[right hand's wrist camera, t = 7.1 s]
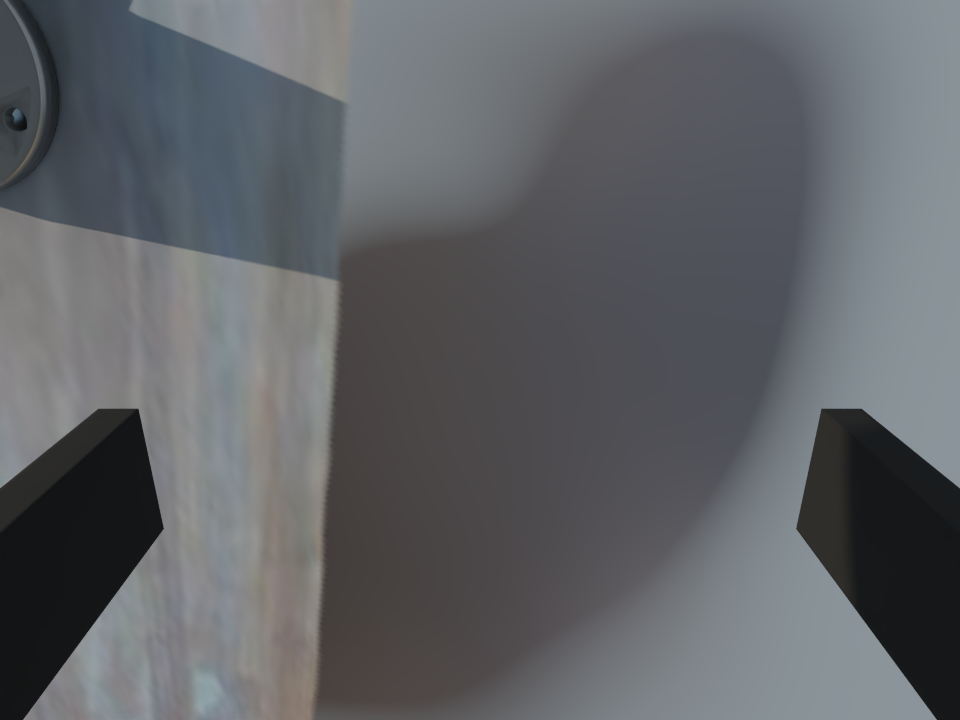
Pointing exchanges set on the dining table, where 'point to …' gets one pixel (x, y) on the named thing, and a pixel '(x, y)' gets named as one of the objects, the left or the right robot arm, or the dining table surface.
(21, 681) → the right robot arm
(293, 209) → the dining table surface
